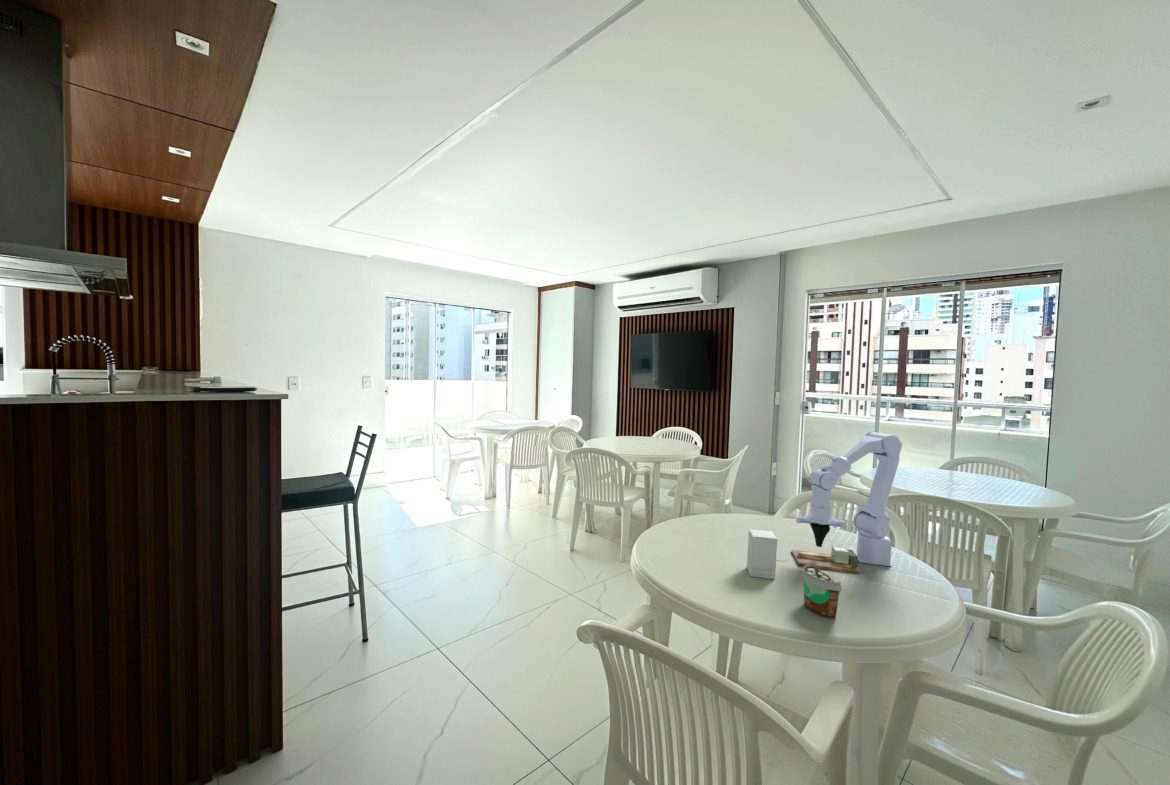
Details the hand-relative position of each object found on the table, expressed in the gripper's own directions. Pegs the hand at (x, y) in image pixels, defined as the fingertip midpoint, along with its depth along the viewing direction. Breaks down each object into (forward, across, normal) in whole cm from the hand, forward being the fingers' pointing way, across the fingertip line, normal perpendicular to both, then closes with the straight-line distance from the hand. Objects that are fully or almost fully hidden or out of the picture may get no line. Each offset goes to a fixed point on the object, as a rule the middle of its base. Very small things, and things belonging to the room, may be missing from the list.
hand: (818, 545), depth 151 cm
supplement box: (+6, -20, -16) cm, 26 cm away
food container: (+6, -9, -35) cm, 37 cm away
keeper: (+4, +7, 0) cm, 8 cm away
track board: (+6, +2, 0) cm, 6 cm away
